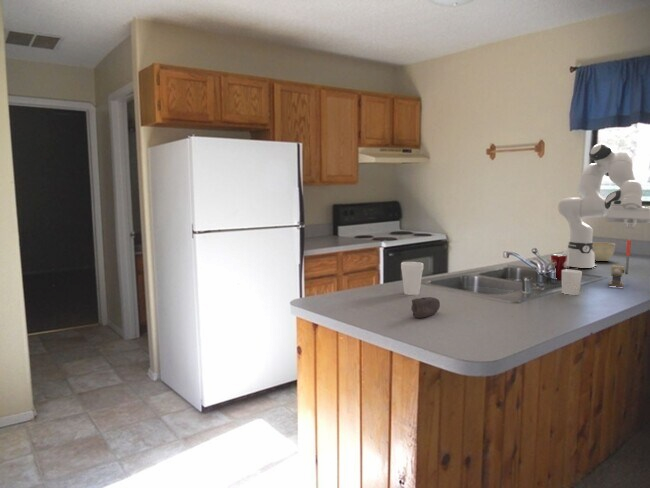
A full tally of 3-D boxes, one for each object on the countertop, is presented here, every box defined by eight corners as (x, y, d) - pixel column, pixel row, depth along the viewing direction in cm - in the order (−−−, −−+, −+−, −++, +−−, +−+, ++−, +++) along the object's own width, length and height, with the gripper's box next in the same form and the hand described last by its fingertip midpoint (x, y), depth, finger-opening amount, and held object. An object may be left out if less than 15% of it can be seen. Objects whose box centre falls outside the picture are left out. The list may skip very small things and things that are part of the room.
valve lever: (624, 273, 228) (626, 239, 226) (628, 274, 227) (631, 239, 226) (624, 274, 226) (627, 240, 224) (628, 274, 225) (631, 240, 223)
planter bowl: (614, 260, 304) (616, 242, 303) (613, 264, 291) (615, 245, 289) (585, 258, 313) (586, 241, 312) (582, 261, 299) (584, 243, 298)
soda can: (550, 279, 244) (552, 255, 242) (548, 277, 251) (550, 253, 249) (566, 280, 242) (568, 256, 240) (564, 277, 249) (565, 254, 247)
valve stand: (609, 283, 235) (610, 264, 234) (623, 284, 232) (624, 265, 231) (608, 287, 226) (610, 267, 225) (623, 288, 224) (624, 268, 223)
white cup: (585, 295, 211) (586, 271, 209) (571, 296, 208) (572, 273, 206) (569, 291, 218) (571, 268, 217) (556, 292, 215) (557, 270, 214)
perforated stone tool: (433, 311, 185) (434, 292, 184) (445, 314, 181) (445, 295, 180) (406, 318, 175) (406, 298, 174) (417, 321, 171) (418, 301, 170)
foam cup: (397, 294, 212) (398, 264, 210) (404, 290, 220) (405, 261, 218) (419, 296, 207) (419, 266, 206) (425, 292, 216) (426, 262, 214)
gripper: (655, 211, 240) (655, 233, 233) (607, 210, 250) (605, 231, 243) (657, 202, 236) (657, 224, 228) (607, 201, 246) (606, 222, 238)
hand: (630, 228), depth 235 cm, fingers closed
